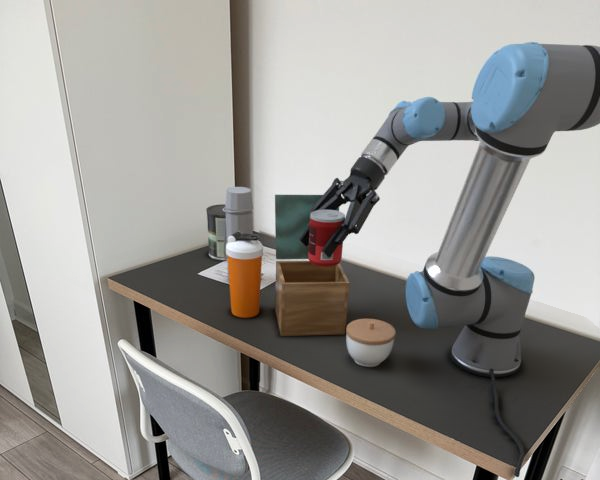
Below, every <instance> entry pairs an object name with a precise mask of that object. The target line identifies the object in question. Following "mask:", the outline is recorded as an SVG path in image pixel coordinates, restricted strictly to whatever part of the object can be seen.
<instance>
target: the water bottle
mask: <svg viewBox="0 0 600 480" xmlns="http://www.w3.org/2000/svg"><path fill="white" fill-rule="evenodd" d="M252 194H253V193H252V189H251V188H249V187H244V186H232V187H228V188H226V191H225V208H223V211H224V212H226V218H225V234H224V250H223V251H224V259H225V260H224V261H226V264H227V266H226V267H228V259H227V258H226V251H225V250H226V233H227V243H228V237H229V236H230V235H232V234H233V233H235V232H236V231H240V232H241V233H242V234H254V232H253V231H254V230H253V229H254V224H253V221H254V219H253V218H254V217H253V216H254V213H253V210H254V206H253V205H254V203H253V195H252ZM224 209H225V210H224ZM227 280H228V281H229V272H228V271H227Z"/></svg>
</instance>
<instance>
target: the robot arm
mask: <svg viewBox="0 0 600 480" xmlns="http://www.w3.org/2000/svg"><path fill="white" fill-rule="evenodd" d="M471 100H472V101H458V102H455V101H439V100H438V99H437V98H435V97H433V96H425V97H422V98H418V99H416V100H413V101H412V102H411V101H406V100H401V101H399V102H398V103H397V104H396V106H394V107H393V109H391V111H390V112H389V113H388V116H387V117H386V119H385V121H384V122H383V123H382V125H381V126H380V127H379V129H378V130H377V132H376V133H375V135H374V136H373V137H372V138H371V140H370V141H369V143H367V145H366V147H365V148H364V149H363V150H362V152H361V154H360V157H358V158H357V159H356V161H355V162H354V163H353V165H352V166H351V168H350V173H349V176H347V178H346V179H344V180H340V179H339V177H336V178H334V180H333V181H332V183H331V185H330V186H329V187H328V188H327V190H326V191H325V192H324V193H323V194H322V195H323V196H322V197H321V198H320V199H319V200H318V201H317V202H316V204H315V205H314V206H313V207H312V208H311V210H310V211H311V212H313V211H316V210H336V209H337V208H338V207H339V208H340V207H341V206H343V205H346V204H348V202H349V206H348V208H347V211H346V214H345V220H344V223H343V224H341V226H342V227H343V229H342V228H341V227H340V226H339V227H338V228H337V229H336V231H335V232H334V234H333V235H332V236H331V238H330V239H329V241H328V242H327V243H326V245H325V246H324V247H323V249H322V251H323V252H324V253H325V254H326V255H327V256H328V257H331V255H332V254H333V252H334V251H335V250H336V248H337V247H338V246H339V245H341V244H342V243H343V244H344V241H345V240H346V239H347V237H348V236H349V235H351V234H355V235H358V234H359V233H360V231H361V229H362V228H363V226H364V224H365V222H366V221H367V219H368V218H369V215H370V213H371V212H372V209H373V208H374V207H375V206H376V204H377V203H378V202H379V201H380V200H381V198H380V196H379V195H378V193H377V192H376V190H378V189H379V187H380V186H381V184H382V183H383V182H384V180H385V178H386V177H385V176H387V175H388V174H389V173H390V171H392V169H393V167H394V166H395V165H396V163H397V162H398V161H399V159H400V157H401V156H402V155H403V153H404V152H405V151H406V149H407V148H408V147H409V146H411V145H415V144H416V143H420V142H445V141H446V142H449V141H474V142H479V144H478V147H477V149H476V151H475V155H474V157H473V160H472V162H471V164H470V168H469V171H468V173H467V175H466V178H465V181H464V183H463V186H462V188H461V191H460V194H459V196H458V198H457V200H456V201H457V202H456V204H455V207H454V209H453V212H452V215H451V217H450V220H449V222H448V224H447V228H446V230H445V233H444V236H443V238H442V241H441V244H440V246H439V248H438V251H437V252H434V253H432V254H431V255H430V256H428V258H427V259H426V262H425V264H424V267H423V270H421V271H419V270H416V271H414V272H411V273H410V274H409V275H408V277H407V279H406V282H405V302H406V306H407V307H406V308H407V310H408V313H409V315H410V318H411V320H412V322H413V323H414V324H415V325H416V326H417V327H418V328H420V329H434V330H436V329H441V328H450V327H460V326H463V328H462V330H461V331H460V333H459V334H458V336H457V338H456V340H455V342H453V345H452V347H451V352H450V358H451V360H452V362H453V363H454V364H455V365H456V366H457V367H459V368H460V369H461V370H464V371H466V372H467V373H470V374H473V375H476V376H479V377H480V376H481V377H485V378H490V380H491V387H492V392H493V393H492V394H493V399H494V414H495V417H496V420H497V422H498V424H499V425H500V427H501V428H502V429H503V430H504V431H505V433H507V434H508V435H509V437H510V438H511V439H512V440H513V441H514V443H515V444H516V445H517V448H518V451H519V456H518V459H517V462H516V466H515V470H514V477H516V478H519V477H520V475H521V468H522V465H523V461H524V459H525V448H524V445H523V444H522V441H521V440H520V439H519V437H517V435H516V434H515V433H514V432H512V431H511V429H510V428H509V427H508V426H507V425H506V423H505V422H504V421H503V419H502V417H501V413H500V405H499V394H498V388H497V381H496V378H505V377H509V376H512V375H514V374H516V373H517V372H518V371H519V369H520V366H521V363H522V353H521V351H522V350H521V340H520V335H521V331H522V328H523V323H524V320H525V316H526V313H527V309H528V306H529V303H530V299H531V296H532V295H533V290H534V283H535V273H534V271H532V269H530V268H529V267H528V266H526V265H524V264H523V263H521V262H519V261H515V260H513V259H510V258H506V257H500V256H487V254H488V252H489V249H490V247H491V245H492V243H493V241H494V239H495V237H496V234H497V233H498V230H499V228H500V225H501V223H502V221H503V219H504V217H505V215H506V212H507V211H508V209H509V206H510V204H511V202H512V200H513V197H514V196H515V193H516V191H517V189H518V187H519V184H520V183H521V181H522V178H523V176H524V174H525V172H526V169H527V167H528V165H529V163H530V161H531V159H533V158H536V157H539V156H541V155H542V154H544V152H545V151H546V149H547V147H548V145H549V143H550V141H551V139H552V138H553V135H554V133H555V132H572V131H573V132H575V131H582V130H588V129H591V128H593V127H596V126H598V125H600V46H598V45H594V44H593V45H592V44H591V45H590V44H589V45H588V44H584V45H581V44H556V43H539V42H538V41H537V42H536V41H527V42H523V43H511V44H507V45H504V46H502V47H501V48H500V49H497V50H496V51H494V52H493V53H492V54H491V55H490V56H489V58H488V59H486V61H485V62H484V64H483V65H482V67H481V69H480V71H479V72H478V74H477V77H476V79H475V82H474V85H473V88H472V92H471ZM306 228H307V229H306V230H305V231H304V233H303V234H302V236H301V237H300V238H299V240H300V241H301V242H302V243H303V244H304V245H305V246H308V244H309V229H310V223H309V224H308V225H307V227H306Z"/></svg>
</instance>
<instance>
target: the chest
mask: <svg viewBox="0 0 600 480" xmlns="http://www.w3.org/2000/svg"><path fill="white" fill-rule="evenodd" d="M350 283H351V282H350V281H349V279H348V277H347V275H346V273H345V271H344V269H343V267H342V265H341V262H340V263H339V264H337V265H335V266H329V267H323V266H317V265H314V264H312V263H311V262H310V261H309V260H276V261H275V295H274V296H275V298H274V300H275V301H274V302H275V303H274V304H275V305H274V312H275V316H276V320H277V321H276V322H277V325H278V329H279V333H280V337H292V336H293V337H296V336H297V337H298V336H299V337H300V336H333V335H335V336H336V335H337V336H339V335H346V328H347V316H348V305H349V296H350V295H349V294H350Z"/></svg>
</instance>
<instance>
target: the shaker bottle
mask: <svg viewBox="0 0 600 480" xmlns="http://www.w3.org/2000/svg"><path fill="white" fill-rule="evenodd" d="M259 239H260V235H258V234H256V233H255V234H254V233H253V234H242V233H241V232H240V231H236V232H235V233H233V234H232V235H230V236H229V237H228V243H227V245H226V254H227V259H228V266H227V273H228V272H229V280H228V285H229V296H230V310H231V314H232V315H233V316H235V317H237V318H241V319H248V318H254V317H256V316H258V315H259V313H260V305H261V303H260V302H261V284H262V283H261V282H262V267H263V265H262V263H263V256H264V245H263V243H262V242H261V241H260V240H259Z"/></svg>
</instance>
